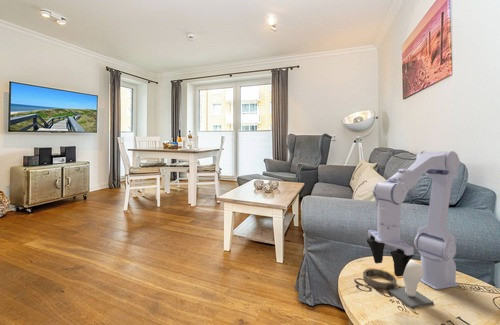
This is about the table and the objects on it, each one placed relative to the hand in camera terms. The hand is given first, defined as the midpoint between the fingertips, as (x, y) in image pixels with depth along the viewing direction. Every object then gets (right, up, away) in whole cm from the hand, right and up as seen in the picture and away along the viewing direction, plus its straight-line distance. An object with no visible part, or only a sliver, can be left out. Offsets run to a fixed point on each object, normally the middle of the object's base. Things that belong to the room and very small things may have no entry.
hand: (388, 268), depth 68 cm
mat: (+8, -10, +2) cm, 13 cm away
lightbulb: (+8, -9, +2) cm, 12 cm away
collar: (+3, -9, +11) cm, 15 cm away
